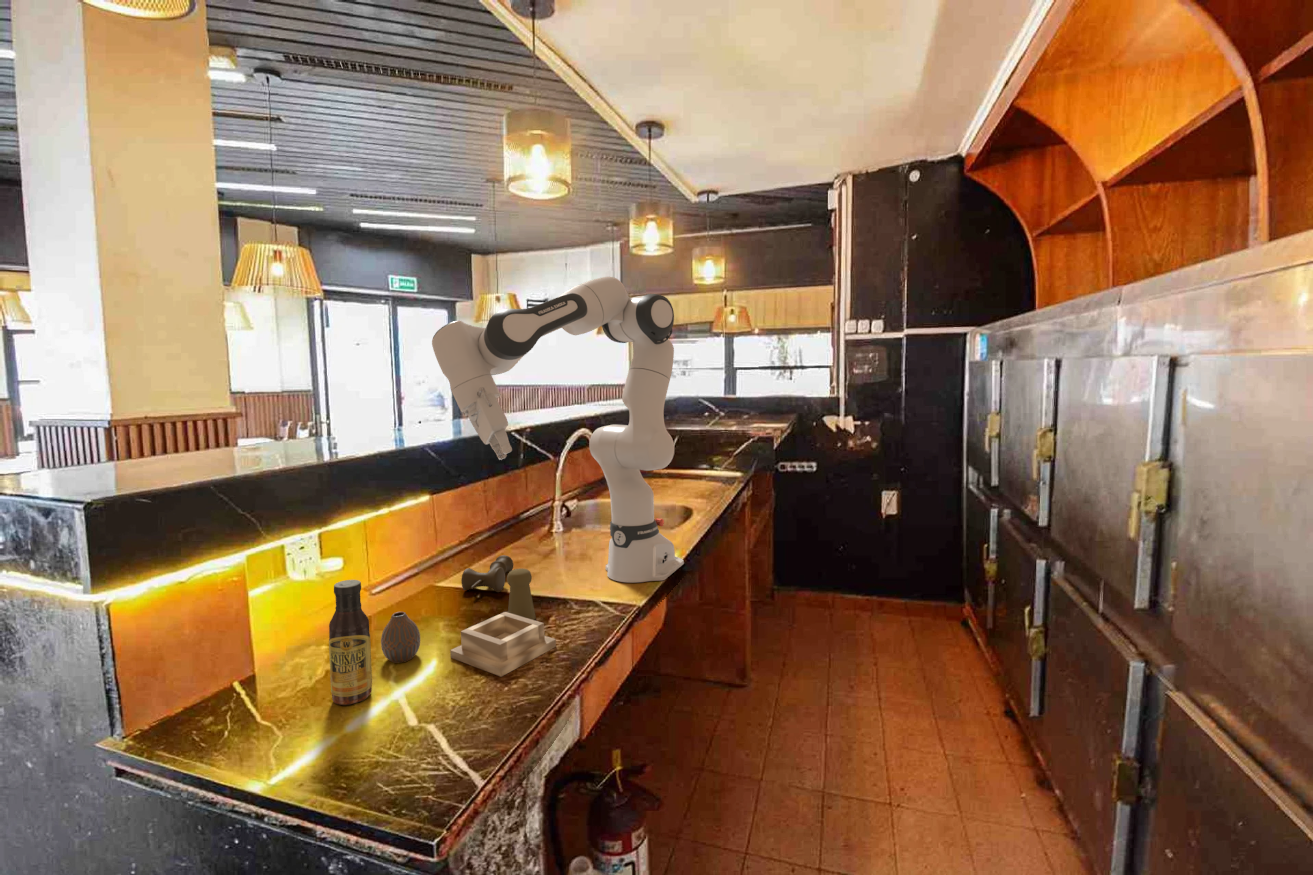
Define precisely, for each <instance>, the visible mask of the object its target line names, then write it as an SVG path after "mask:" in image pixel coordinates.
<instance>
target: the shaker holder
mask: <svg viewBox="0 0 1313 875" xmlns="http://www.w3.org/2000/svg"><path fill="white" fill-rule="evenodd" d="M460 639H461V644H460V645H458V646H456V647H454V648H452V649H450V650H449V651H450V658H451V659H453V660H456V661H459V662H461V663H464V664H467V665H469V666H471V667H474V668H477V669H479V670H481V671H485V672H488V673H491V674H493V675H496V676H498V677H501V678H502V677H504V676H505V675H507V674H508V673H511V672H513V671H514V670H516V669H518V668H519V667H522V666H523V665H525V664H527V663H529V662H530V661H531V662H532V661H533V660H534V659H536V658H538V657H540V656H542V655H543V654H545V653H547V652H549V651H551V650H552V649H554V648H556V647H557V639H556V638H554V637H550V636H548V635H547V636H546V635H545V623H544V622H541V621H538V620H536V619H535V620H531V619H528V618H525V617H521V616H518V615H514V614H511V613H508V611H503V612H501V613H500V614H497V615H495V616H492V617H490V618H488V619H486V620H484V621H483V620H482V621H481V622H478V623H477V624H474V625H471V626H469V627H468V628H465V629H463V630H461V631H460Z"/></svg>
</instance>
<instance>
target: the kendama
mask: <svg viewBox="0 0 1313 875" xmlns="http://www.w3.org/2000/svg"><path fill="white" fill-rule="evenodd" d="M512 570H514V561H513V559H512V558H511V556H509V555H505V554H504V555H499V556H498V557H496V559H495V560H494V561H493V562H491V563H490V565H489V570H488V571H487V572H479V571H476V570H474V569H472V568H468V567H467V568H465V569H464V570H463V572H462V574H461V578H460V579H461V580H460V582H461V587H462V590H463V591H465V590H469V589H472V590H473V588H474V589H475V588H478V587H480V588H481V587H487V588H490V589H492V590H493V591H494V592H496V593H500V592H502V591H503V589H504V587H505V584H506V574H508V572H510V571H512ZM501 590H502V591H501ZM469 591H470V590H469Z"/></svg>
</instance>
